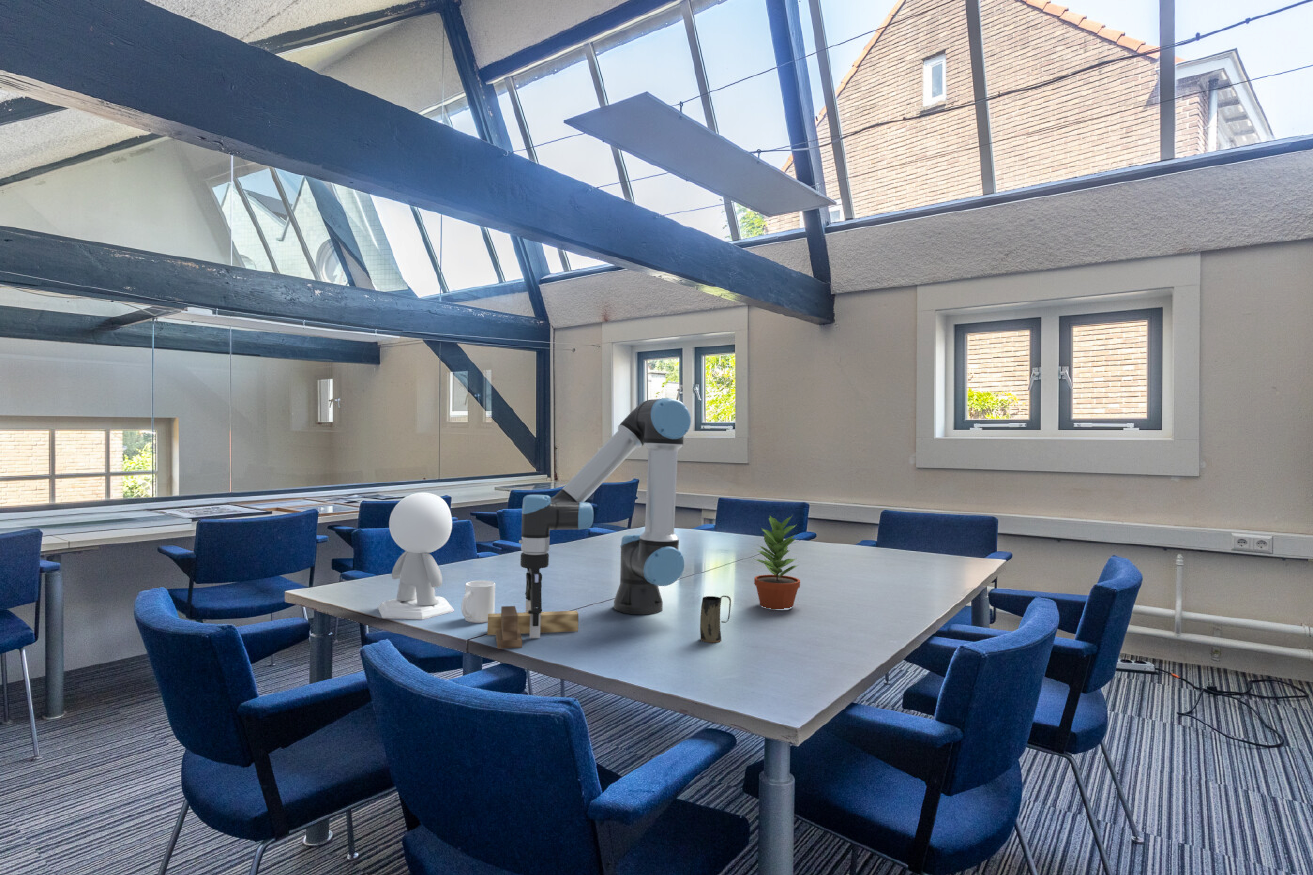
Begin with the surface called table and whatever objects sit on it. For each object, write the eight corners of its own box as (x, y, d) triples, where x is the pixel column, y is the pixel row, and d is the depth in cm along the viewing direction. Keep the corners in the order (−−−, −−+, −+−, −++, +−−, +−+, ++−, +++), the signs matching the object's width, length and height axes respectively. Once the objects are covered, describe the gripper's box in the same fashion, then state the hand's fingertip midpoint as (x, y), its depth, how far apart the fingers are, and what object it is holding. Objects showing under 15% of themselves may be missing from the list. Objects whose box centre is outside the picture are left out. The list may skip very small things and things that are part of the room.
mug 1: (473, 628, 189) (474, 590, 189) (449, 624, 192) (450, 587, 192) (500, 618, 200) (501, 582, 200) (476, 614, 203) (477, 579, 203)
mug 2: (697, 641, 182) (698, 595, 182) (702, 635, 187) (704, 591, 187) (726, 645, 179) (728, 598, 179) (731, 639, 184) (732, 594, 184)
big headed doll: (468, 607, 210) (471, 492, 210) (404, 624, 191) (408, 497, 191) (425, 598, 221) (427, 488, 221) (360, 612, 201) (363, 492, 201)
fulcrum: (519, 636, 182) (519, 605, 182) (521, 647, 173) (522, 615, 173) (495, 637, 181) (496, 606, 181) (497, 648, 171) (498, 616, 171)
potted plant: (751, 600, 230) (753, 509, 230) (797, 602, 228) (800, 511, 227) (751, 611, 215) (753, 514, 215) (801, 614, 213) (803, 516, 213)
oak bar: (576, 628, 192) (576, 610, 192) (577, 632, 188) (578, 613, 188) (487, 632, 186) (487, 613, 186) (487, 636, 183) (487, 617, 183)
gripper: (517, 545, 198) (515, 618, 198) (524, 560, 174) (521, 644, 174) (543, 544, 200) (541, 618, 200) (554, 560, 176) (551, 643, 176)
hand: (532, 630), depth 187 cm, fingers open, 13 cm apart
